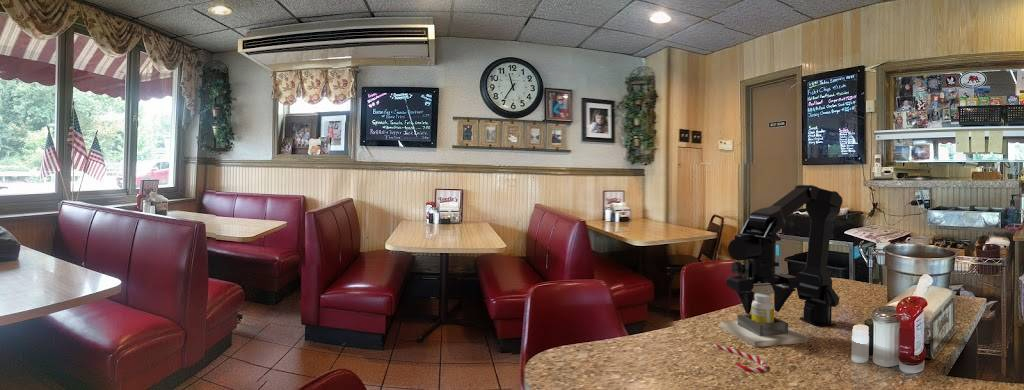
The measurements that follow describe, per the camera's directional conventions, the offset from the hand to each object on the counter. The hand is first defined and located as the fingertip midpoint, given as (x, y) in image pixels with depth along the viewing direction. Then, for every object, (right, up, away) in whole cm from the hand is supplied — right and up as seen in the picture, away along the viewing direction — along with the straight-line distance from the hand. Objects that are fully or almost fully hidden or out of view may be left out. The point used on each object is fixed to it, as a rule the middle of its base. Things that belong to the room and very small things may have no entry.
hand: (762, 312), depth 117 cm
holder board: (0, -6, 0) cm, 6 cm away
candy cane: (-15, -8, -14) cm, 22 cm away
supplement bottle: (0, -5, 0) cm, 5 cm away
